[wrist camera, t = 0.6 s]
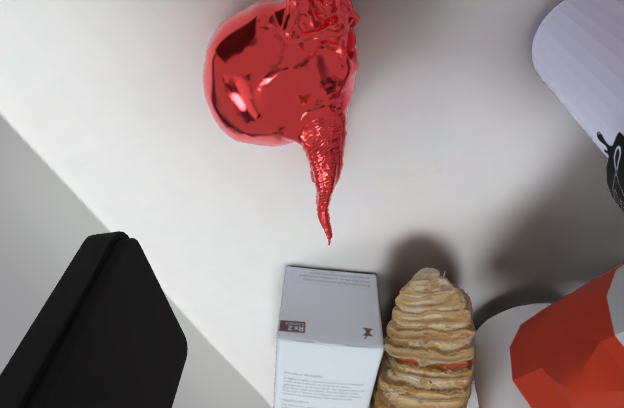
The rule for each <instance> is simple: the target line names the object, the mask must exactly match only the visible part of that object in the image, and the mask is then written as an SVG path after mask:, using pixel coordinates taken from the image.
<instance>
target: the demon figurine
mask: <svg viewBox="0 0 624 408" xmlns="http://www.w3.org/2000/svg"><path fill="white" fill-rule="evenodd" d="M359 21H360V17H359V16H358V15H357V14H356V12H355V11H354V9H353V7H352V4H351V0H259V1H257V2H255V3H253V4H252V5H250V6H249V7H247V8H245V9H243V10H241V11H240V12H238V13H236V14H234V15H232V16H231V17H229V18H228V19H226V20H225V21H224V22H223V23H222V24H221V25H220V26H219V27H218V28H217V30H216V31H215V32H214V34H213V36H212V38H211V40H210V42H209V45H208V48H207V51H206V56H205V62H204V71H203V82H204V91H205V97H206V101H207V104H208V106H209V109H210V111H211V113H212V115H213V117H214V119H215V121H216V122H217V124H218V125H219V127H220V128H221V129H222V130H223V132H225V133H226V134H227V135H228V136H229V137H231V138H232V139H234V140H236V141H239V142H243V143H248V144H254V145H262V146H281V145H286V144H289V143H292V142H297V143H298V144H300V145H302V147H303V149H304V151H305V153H306V156H307V158H308V160H309V164H310V168H311V172H310V173H311V179H312V182H313V183H315V186H316V190H317V193H316V204H317V211H318V218H319V221H320V223H321V226H322V227H323V229H324V231H325V233H326V236H327V238H328V242H329V244H328V245H330V242H331V241H330V240H331V238H332V230H331V229H332V228H331V225H330V217H329V213H328V211H329V205H330V201H331V196H332V193H333V190H334V188H335V186H336V184H337V182H338V180H339V178H340V174H341V170H342V167H343V157H344V148H345V140H346V135H347V132H346V124H347V111H348V108H349V106H350V103H351V97H352V94H353V91H354V87H355V73H356V71H357V69H358V66H359V64H358V56H357V49H356V47H355V45H356V36H355V33H354V32H353V30H354V28H355V26H356V25H357V24H358V23H359Z"/></svg>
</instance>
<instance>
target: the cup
mask: <svg viewBox="0 0 624 408" xmlns="http://www.w3.org/2000/svg"><path fill="white" fill-rule="evenodd" d="M550 305H551V303H541V304H529V305H523V306H518V307H514V308H511V309H509V310H506V311H503V312H500V313H499V314H497V315H495V316H493V317H491V318H490V319H488V320H486V321H485V322H484V323H483V324H482V325H481V326H480V327H479V329H478V330H477V331H476V333H475V335H474V336H473V339H474V345H475V355H476V360H475V366H474V370H473V375H474V381H475V386H476V392H477V397H478V403H479V408H531V407H530V405H529V404H528V402H527V401H526V399H525V398H524V397H523V395H522V394H521V392H520V391H519V389H518V388H517V386H516V385H515V384H514V382H513V381H512V370H511V359H510V346H511V344H512V342H513V340H514V338H515V335H516V333H517V331H518V329H519V327H520V325H521V324H522V323H524V322H525V321H527V320H528V319H530V318H531V317H533V316H534V315H536V314H537V313H538V312H540V311H541V310H543V309H544V308H546V307H548V306H550Z"/></svg>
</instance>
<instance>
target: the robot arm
mask: <svg viewBox="0 0 624 408" xmlns="http://www.w3.org/2000/svg"><path fill="white" fill-rule="evenodd" d="M186 357H187V341H186V337H185V335H184V333H183V331H182V329H181V327H180V325H179V323H178V321H177V319H176V317H175V315H174V313H173V311H172V309H171V307H170V305H169V303H168V301H167V299H166V297H165V294H164V292H163V290H162V288H161V286H160V284H159V282H158V280H157V278H156V276H155V274H154V272H153V270H152V268H151V266H150V264H149V262H148V260H147V258H146V256H145V254H144V252H143V250H142V248H141V246H140V244H139V242H138V241H137V240H136V239H134V238H129V237H128V235H127V234H125V233H124V232H120V231H119V232H111V233H104V234H96V235H91V236H88V237H87V238H86V239H85V241H84V242H83V244H82V245H81V247H80V249H79V250H78V252H77V253H76V255H75V257H74V258H73V260H72V261H71V263H70V265H69V266H68V268H67V269H66V271H65V273H64V274H63V276H62V277H61V279H60V281H59V282H58V284H57V285H56V287H55V289H54V290H53V292H52V293H51V295H50V297H49V298H48V300H47V301H46V303H45V305H44V306H43V308H42V310H41V311H40V313H39V314H38V316H37V318H36V319H35V321H34V322H33V324H32V325H31V327H30V329H29V330H28V332H27V334H26V335H25V337H24V338H23V340H22V341H21V343H20V345H19V346H18V348H17V349H16V351H15V353H14V354H13V356H12V357H11V359H10V361H9V363H8V364H7V365H6V367H5V369H4V370H3V372H2V373H1V375H0V408H172V405H173V402H174V398H175V395H176V392H177V388H178V385H179V381H180V378H181V374H182V371H183V368H184V364H185V361H186Z"/></svg>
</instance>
